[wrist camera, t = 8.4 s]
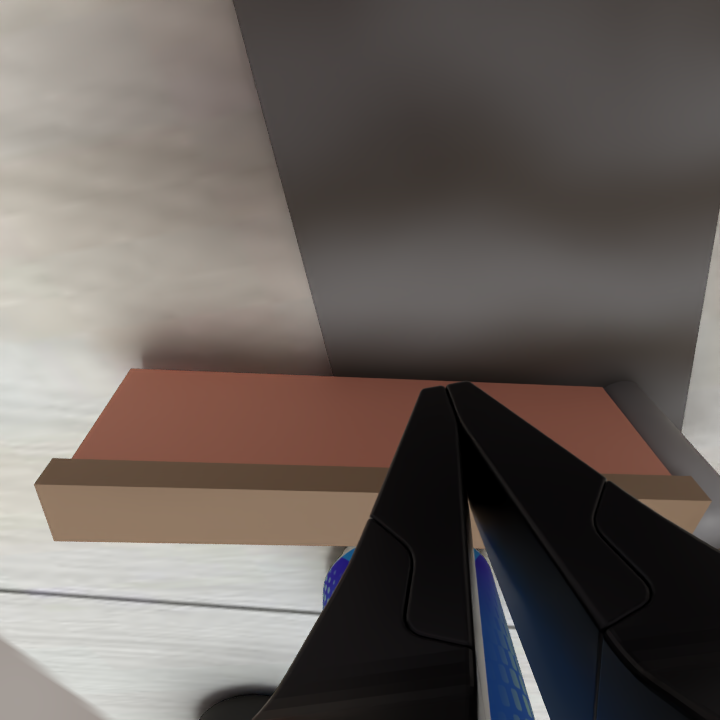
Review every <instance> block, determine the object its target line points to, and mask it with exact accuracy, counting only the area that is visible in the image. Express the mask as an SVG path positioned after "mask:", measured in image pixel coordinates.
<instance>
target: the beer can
mask: <svg viewBox="0 0 720 720" xmlns="http://www.w3.org/2000/svg"><path fill="white" fill-rule="evenodd" d="M355 548H356V546H347V548H346V549H345V550H344V552H343V553H342V555H341V557H340V558H339V559H337V561H336V562H335V563H334V564H333V565H332V567H331V568H330V570H329V572H328V574H327V576H326V579H325V582H324V588H323V609H324V607H325V606H326V604H327V602H328V600H329V599H330V597H331V595H332V593H333V592H334V590H335V588H336V586H337V584H338V582H339V580H340V579H341V577H342V575H343V573H344V571H345V569H346V568H347V566H348V564H349V561H350V559H351V557H352V555H353V553H354V550H355ZM474 558H475V568H476V578H477V588H478V598H479V608H480V618H481V628H482V638H483V648H484V657H485V667H486V677H487V687H488V697H489V707H490V717H491V720H535V718H534V714H533V711H532V708H531V704H530V701H529V697H528V694H527V691H526V687H525V684H524V680H523V677H522V674H521V670H520V667H519V663H518V660H517V657H516V653H515V650H514V646H513V643H512V640H511V636H510V633H509V629H508V626H507V623H506V619H505V616H504V612H503V609H502V606H501V602H500V599H499V595H498V592H497V589H496V585H495V582H494V578H493V575H492V572H491V569H490V566H489V564H488V563H487V561H486V559H485V558H484V557H483V555H482V554H481V553H480V552H479V551H478V550H476V549H475V548H474Z"/></svg>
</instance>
